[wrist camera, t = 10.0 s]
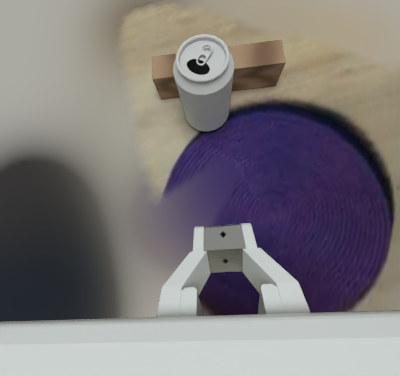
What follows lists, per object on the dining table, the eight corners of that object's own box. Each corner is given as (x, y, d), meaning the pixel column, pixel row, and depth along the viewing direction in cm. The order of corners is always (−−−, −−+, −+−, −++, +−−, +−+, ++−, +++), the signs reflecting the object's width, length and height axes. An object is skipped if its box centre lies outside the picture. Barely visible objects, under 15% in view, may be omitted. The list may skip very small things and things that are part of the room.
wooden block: (272, 65, 35) (281, 39, 30) (275, 85, 34) (285, 62, 29) (160, 79, 36) (151, 56, 31) (161, 99, 35) (152, 79, 30)
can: (177, 121, 34) (157, 68, 22) (199, 87, 35) (191, 18, 23) (214, 141, 33) (214, 95, 21) (236, 105, 34) (247, 42, 22)
